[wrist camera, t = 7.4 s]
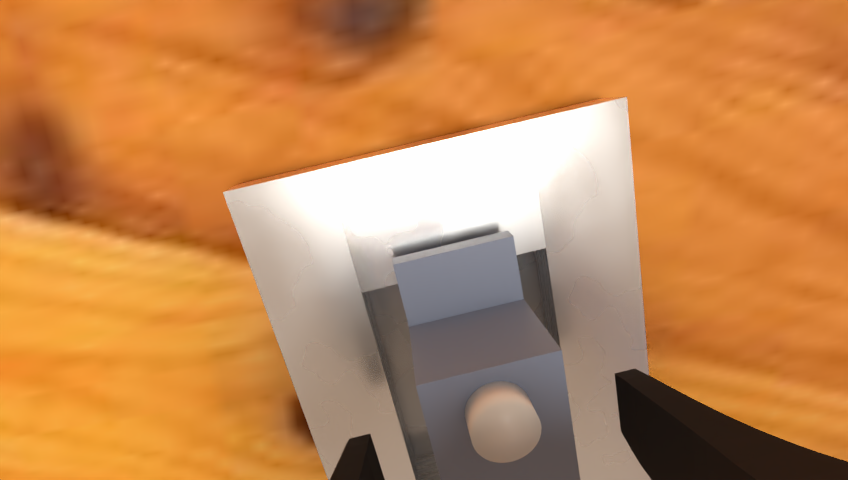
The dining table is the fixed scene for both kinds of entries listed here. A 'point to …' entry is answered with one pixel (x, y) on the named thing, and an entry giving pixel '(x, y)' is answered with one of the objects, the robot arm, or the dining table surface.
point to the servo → (485, 365)
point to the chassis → (438, 226)
